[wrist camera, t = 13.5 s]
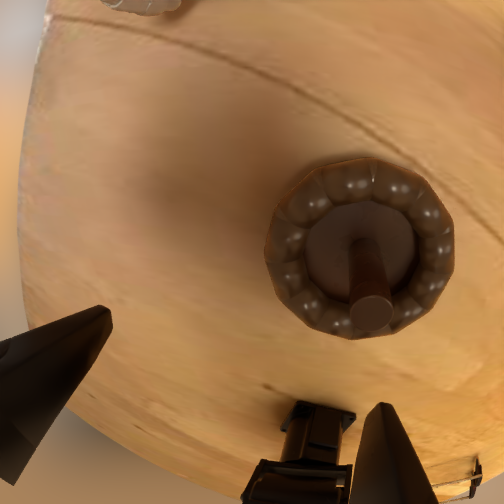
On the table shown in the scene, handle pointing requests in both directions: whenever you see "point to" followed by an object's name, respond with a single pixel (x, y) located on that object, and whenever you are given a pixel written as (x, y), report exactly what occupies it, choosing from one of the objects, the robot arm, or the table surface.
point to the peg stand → (363, 259)
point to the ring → (348, 192)
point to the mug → (143, 6)
